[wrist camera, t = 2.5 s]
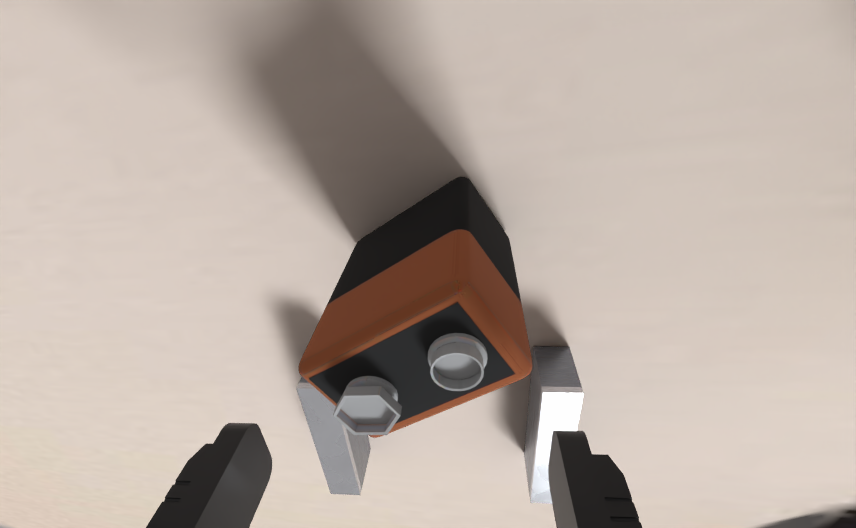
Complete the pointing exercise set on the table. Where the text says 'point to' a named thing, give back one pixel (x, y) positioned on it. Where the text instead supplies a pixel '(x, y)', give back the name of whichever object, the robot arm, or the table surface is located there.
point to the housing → (547, 411)
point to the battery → (421, 317)
